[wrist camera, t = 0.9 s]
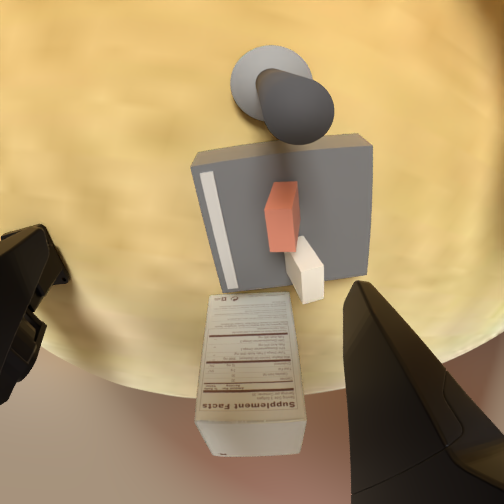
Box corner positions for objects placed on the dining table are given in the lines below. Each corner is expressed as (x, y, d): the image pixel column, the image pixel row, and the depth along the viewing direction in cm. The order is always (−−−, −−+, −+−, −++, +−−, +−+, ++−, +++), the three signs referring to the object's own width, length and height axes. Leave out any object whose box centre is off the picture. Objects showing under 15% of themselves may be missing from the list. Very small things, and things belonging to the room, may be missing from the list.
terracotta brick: (278, 219, 20) (270, 252, 17) (274, 182, 19) (264, 209, 16) (300, 219, 20) (295, 252, 17) (297, 181, 18) (291, 209, 15)
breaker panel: (225, 268, 26) (222, 294, 24) (197, 152, 21) (189, 168, 18) (356, 252, 25) (367, 276, 23) (357, 133, 20) (373, 146, 17)
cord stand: (238, 124, 19) (225, 202, 10) (225, 51, 17) (192, 39, 7) (313, 115, 19) (383, 184, 9) (305, 43, 16) (376, 25, 6)
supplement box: (289, 341, 32) (300, 455, 21) (217, 344, 32) (209, 457, 22) (292, 288, 28) (310, 421, 17) (207, 292, 28) (191, 423, 17)
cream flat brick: (286, 271, 22) (303, 304, 19) (283, 240, 21) (301, 271, 18) (305, 266, 22) (323, 298, 19) (303, 235, 21) (323, 265, 18)
